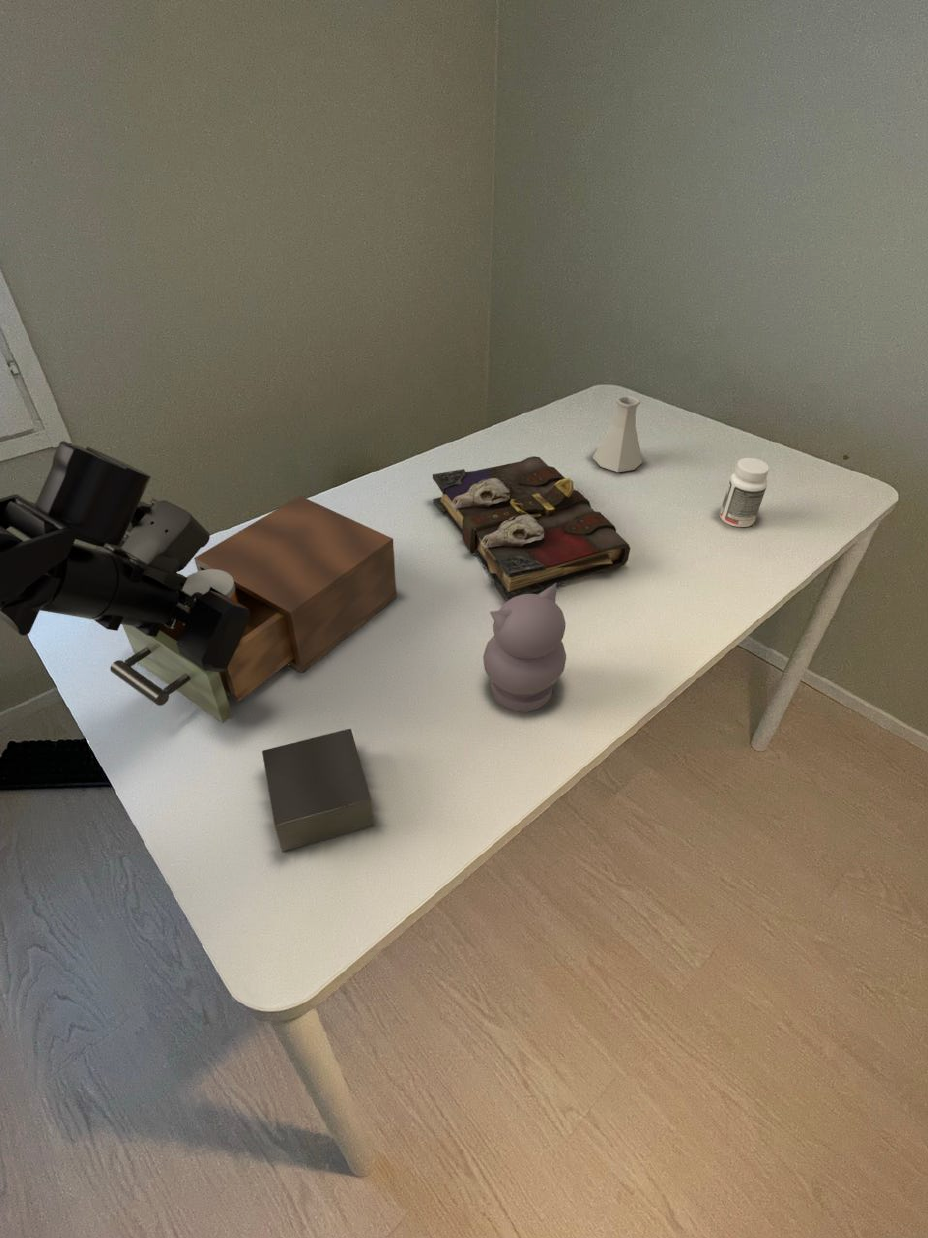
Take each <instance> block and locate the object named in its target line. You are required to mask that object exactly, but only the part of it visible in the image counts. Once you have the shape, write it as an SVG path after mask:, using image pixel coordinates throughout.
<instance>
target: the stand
mask: <svg viewBox="0 0 928 1238" xmlns="http://www.w3.org/2000/svg"><path fill="white" fill-rule="evenodd" d="M261 754H262V761H263V767H264V772H265V779H266V785H267V791H268V797H269V803H270V809H271V814H272V821H273V827H274V830H275V833H276V836H277V840H278V844H279V847H280V850H281V852H282V853H283V852H287V851H290V850H294V849H298V848H302V847H304V846H305V847H306V846H308V845H312V844H315V843H318V842H319V843H320V842H321V841H325V840H329V839H332V838H335V837H339V836H342V835H346V834H350V833H353V832H355V831H360V830H364V829H367V828H370V827H373V826H375V818H374V817H375V816H374V809H373V801H372V797H371V794H370V791H369V790H370V789H369V786H368V783H367V780H366V776H365V773H364V769H363V766H362V763H361V758H360V756H359V752H358V748H357V745H356V741H355V737H354V734H353V732H352V729H351V728H347V729H343V730H340V731H334V732H331V733H327V734H323V735H320V736H316V737H312V738H307V739H303V740H299V741H295V742H291V743H288V744H284V745H280V746H276V747H271V748H268V749H263V750H262V751H261Z"/></svg>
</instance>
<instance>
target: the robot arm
mask: <svg viewBox="0 0 928 1238" xmlns="http://www.w3.org/2000/svg"><path fill="white" fill-rule="evenodd" d="M52 458H53V459H52V464H51V468H50V471H49V472H48V475H47V477H46V478H45V479H46V480H44V481H45V482H44V484H43V486H42V487H41V490H40V492H39V495H38V497H37V499H36V502H32V501H29V500H28V499H26V498H24V497H23V496H21V495H19V494H16V493H14V494H11V495H6V496H5V497H1V498H0V621H2V622H3V623H4V624H5V625H7V627H8V626H9V627H10V628H11V629H12V630H13V631H15V633H17V634H18V635H20V636H21V637H23V636H28V635H29V634H30V632H31V631H32V629H33V626H34V623H35V621H36V619H37V617H38V615H39V614H40V611H42V612H46V613H53V614H57V615H58V614H59V615H65V616H71V617H76V618H81V619H82V618H83V619H88V620H92V621H94V622H96V623H97V624H98V625H100V626H102V628H104V629H106V630H109V631H116V632H118V630H119V629H120V626H123V625H128V626H134V627H135V628H137V629H138V630H140V631H141V632H143V633H144V634H146V635H147V636H153V637H157V634H158V632H159V630H160V628H161V626H162V624H164V625H165V626H167V627H168V628H171V629H174V628H175V626H176V624H177V621H178V620H179V621H180V622H182V623H183V624H184V625H185V626H184V628H183V630H182V632H181V635H180V637H179V639H178V641H177V643H176V644H177V647H178V650H179V653H180V655H182V656H183V657H185V658H186V659H188V660H189V661H191V662H192V663H194V664H195V665H197V666H198V667H200V668H201V669H203V670H204V671H211V672H222V671H225V670H227V668H228V666H229V664H230V662H231V659H232V657H233V655H234V653H235V651H236V649H237V646H238V644H239V642H240V640H241V638H242V636H243V633H244V631H245V629H246V627H247V625H248V623H249V620H250V618H251V616H250V611H249V609H248V608H246V607H245V606H243V605H241V604H239V603H238V602H236V601H234V600H233V599H231V598H229V597H227V596H226V595H224V594H222V593H221V592H219V591H217V590H215V589H214V588H212V587H210V589H209V591H208V592H206V593H205V594H203V593H200V592H195V593H194V594H193V595H190V594H188V593H186V592H185V591H183V590H182V589H183V587H184V585H185V582H186V580H187V577H188V576H186V575H184V574H181V573H179V572H181V571H183V570H184V569H185V568H186V567H187V566H188V564H189V563H190V562H191V561H192V560H193V559H194V558H195V557H196V555H197V554H198V553H199V551H200V550H201V549H202V548H205V547H206V545H207V544H208V543H209V541H210V538H211V535H210V533H209V532H208V530H206V529H205V527H204V526H203V525H202V524H201V523H200V522H199V521H198V520H197V519H196V518H195V516H193V515H192V514H191V513H190V512H189V511H187V510H186V509H183V508H182V507H180V506H178V505H176V504H174V503H172V502H170V501H168V500H165V499H164V500H163V499H162V500H157V499H155V498H154V497H153V498H151V500H150V501H149V502H150V503H146V502H145V501H141V500H142V498H143V495H144V493H145V491H146V488H147V487H148V484H149V482H150V480H151V477H152V476H151V475H150V474H148V473H146V472H144V471H142V470H141V469H138V468H136V467H134V466H133V465H130V464H128V463H126V462H124V461H122V460H120V459H117V458H115V457H113V456H111V455H108V454H106V453H104V452H102V451H99V450H97V449H94V448H92V447H90V446H86V448H85V447H83V446H80V445H77V444H72V443H70V442H67V441H64V440H62V441H59V443H58V445H57V448H56V450H55V452H54V455H53V457H52ZM9 528H12V529H13V530H15V531H16V532H17V533H19V534H21V535H22V536H24V537H25V538H27V540H23V539H21V538H19V537H18V536H17V535H15V534H14V533H13V532H11V531H9V530H8V529H9ZM76 540H78V541H80V542H83V543H87V544H89V545H92V546H95V548H93V547H91V546H85V545H83V544H78V543H76V542H75V541H76ZM183 604H184V605H186V606H187V607H190V609H189V608H187V607H186V606H184V605H183ZM175 618H176V619H175Z"/></svg>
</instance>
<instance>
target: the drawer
mask: <svg viewBox="0 0 928 1238" xmlns="http://www.w3.org/2000/svg"><path fill="white" fill-rule="evenodd" d="M235 592H236V596H237V600H238V603H239V604H241V605H243V606H245V607H246V608H248V609H249V611H250V616H251V618H250V620H249V623H248V625H247V627H246V629H245V631H246V636H244V637H243V638H241V640H240V642H239V644H238V646H237V649H236V651H235V653H234V655H233V657H232V659H231V662H230V664H229V666H228V668H227V670H225V671H222V672H211V671H204V670H203V669H201V668H200V667H198V666H197V665H195V664H194V663H192V662H191V661H189V660H188V659H186V658H185V657H183V656H182V655H180V653H179V650H178V647H177V644H176V643H177V641H178V639H179V637H180V635H181V632H182V630H183V628H184V626H185V625H184V624H183V623H182V622H180V621H179V620H178V621H177V624H176V626H175V628H174V629H171V628H168V627H167V626H165V625H164V624H162V626H161V628H160V630H159V632H158V634H157V637H153V636H147V635H146V634H144V633H143V632H141V631H140V630H138V629H137V628H135V627H134V626H128V625H122V628H123V630H124V632H125V635H126V637H127V639H128V642H129V644H130V647H131V649H132V652H133V655H131V656H130V657H128V658H127V659H125V660H124V661H123V660H122V659H118V660H115V661H114V662H113V663H112V664H111V665H110V668H109V669H110V672H111V673H112V674H114V675H115V676H116V677H117V678H119V679H120V680H122V681H123V682H125V683H126V684H128V686H130V687H131V688H133V689H134V690H135V691H136V692H138V693H140V694H141V695H142V696H144V697H145V698H147V699H148V700H149V701H150V702H152V703H153V704H154V705H156V706H158V707H162V706H164V705H165V704H167V703H168V702H169V699H170V695H172V694H173V693H174V692H176V691H177V692H178V693H180V695H182V696H183V697H185V698H187V699H188V700H189V701H191V702H192V703H194V704H195V705H197V706H198V707H199V708H201V709H202V710H204V711H205V712H207V713H208V714H209V715H210V716H212V717H213V718H215V719H216V720H218V721H220V722H221V723H223V724H224V723H225V722H227V721H228V720H229V719H231V718H232V717H233V713H232V710H231V706H230V703H229V700H228V697H229V698H231V699H232V700H233V701H235V702H237V703H239V702H240V701H242V699H244V698H245V697H246V696H248V695H249V694H250V693H252V692H253V691H254V690H256V689H257V688H258V687H259V686H260V685H262V684H263V683H264V682H266V681H268V679H269V678H271V677H272V676H274V675H275V674H276V673H277V672H278V671H280V670H281V669H282V668H284V667H285V666H286V665H288V664H287V663H289V662H290V661H291V660H293V659H294V658H295V657H294V652H293V647H292V642H291V637H290V632H289V627H288V622H287V617H286V615H284V614H282V613H281V612H279V611H277V610H275V609H274V608H272V607H270V606H268V605H267V604H265V603H263V602H261V601H260V600H258V599H256V598H254V597H253V596H251V595H249V594H247V593H246V592H244V591H242V590H240V589H239V588H237V587H235ZM175 619H176V618H175ZM136 664H138V665H139V666H141V667H142V668H144V669H145V670H147V671H148V672H149V673H151V674H152V675H154V676H156V677H157V678H158V679H159V680H161V681H163V682H164V683H165V684H167V686H165V687H164V688H161V687H160V686H158V685H157V684H156V683H154V682H153V681H152V680H150V679H149V678H148V677H146V676H144V675H143V674H141V673H140V672H138V671H137V670H136V669H134V668H133V666H134V665H136Z"/></svg>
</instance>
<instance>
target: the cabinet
mask: <svg viewBox="0 0 928 1238" xmlns="http://www.w3.org/2000/svg"><path fill="white" fill-rule="evenodd" d="M193 560H194V563H195V566H196V570H197V572H198V571H202V570H208V569H217V570H222V571H225V572H227V573H229V574H230V575H231V576H232V578H233V580H234V584H235V587H237V588H239V589H240V590H242V591H244V592H246V593H247V594H249V595H251V596H253V597H254V598H256V599H258V600H260V601H261V602H263V603H265V604H267V605H268V606H270V607H272V608H274V609H275V610H277V611H279V612H281V613H282V614H284V615H286V617H287V622H288V627H289V632H290V637H291V642H292V647H293V652H294V657H295V658H294V659H293V660H291V661H290V662H289V663H287V664H286V665H288V666H289V667H291V668H293V669H295V670H296V671H298V672H300V673H301V674H304V673H305V671H307V670H308V669H310V667H312V666H313V665H314V664H316V663H317V662H318V661H319V660H321V659H322V658H323V657H324V656H325V655H327V654H328V653H329V652H330V651H332V650H333V649H334V648H335V647H336V646H338V645H340V643H342V642H343V641H345V639H347V638H348V637H349V636H350V635H352V634H353V633H354V632H355V631H356V630H358V629H360V628H361V627H362V626H363V625H364V624H366V623H367V622H368V621H370V619H372V618H373V617H374V616H375V615H376V614H378V613H379V612H380V611H382V610H383V609H384V608H386V606H388V605H389V604H390V603H391V602H393V601H394V600H395V599H396V598H397V583H396V566H395V549H394V538H393V537H390V536H388V535H387V534H384V533H381V532H380V531H377V530H376V529H373V528H371V527H368V526H367V525H365V524H362V523H360V522H358V521H356V520H354V519H352V518H349V517H347V516H345V515H343V514H341V513H338V512H337V511H335V510H332V509H330V508H328V507H325V506H323V505H321V504H319V503H318V502H315V501H313V500H310V499H309V498H307V497H304V496H302V495H298V496H297V497H295V498H293V499H292V500H289V501H288V502H286V503H285V504H283V505H281V506H280V507H278V508H276V509H275V510H273V511H271V512H270V513H268V514H267V515H264V516H263V517H261V518H260V519H258V520H256V521H254V522H253V523H251V524H250V525H248V526H246V527H244V528H243V529H240V530H239V531H238V532H235V533H233V535H231V536H229V537H228V538H226V539H224V540H222V541H221V542H218V543H217V544H215V545H214V546H212V547H210V548H209V549H206V550H205V551H204V552H201V553H200V554H199V555H197V556H194V557H193Z"/></svg>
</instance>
